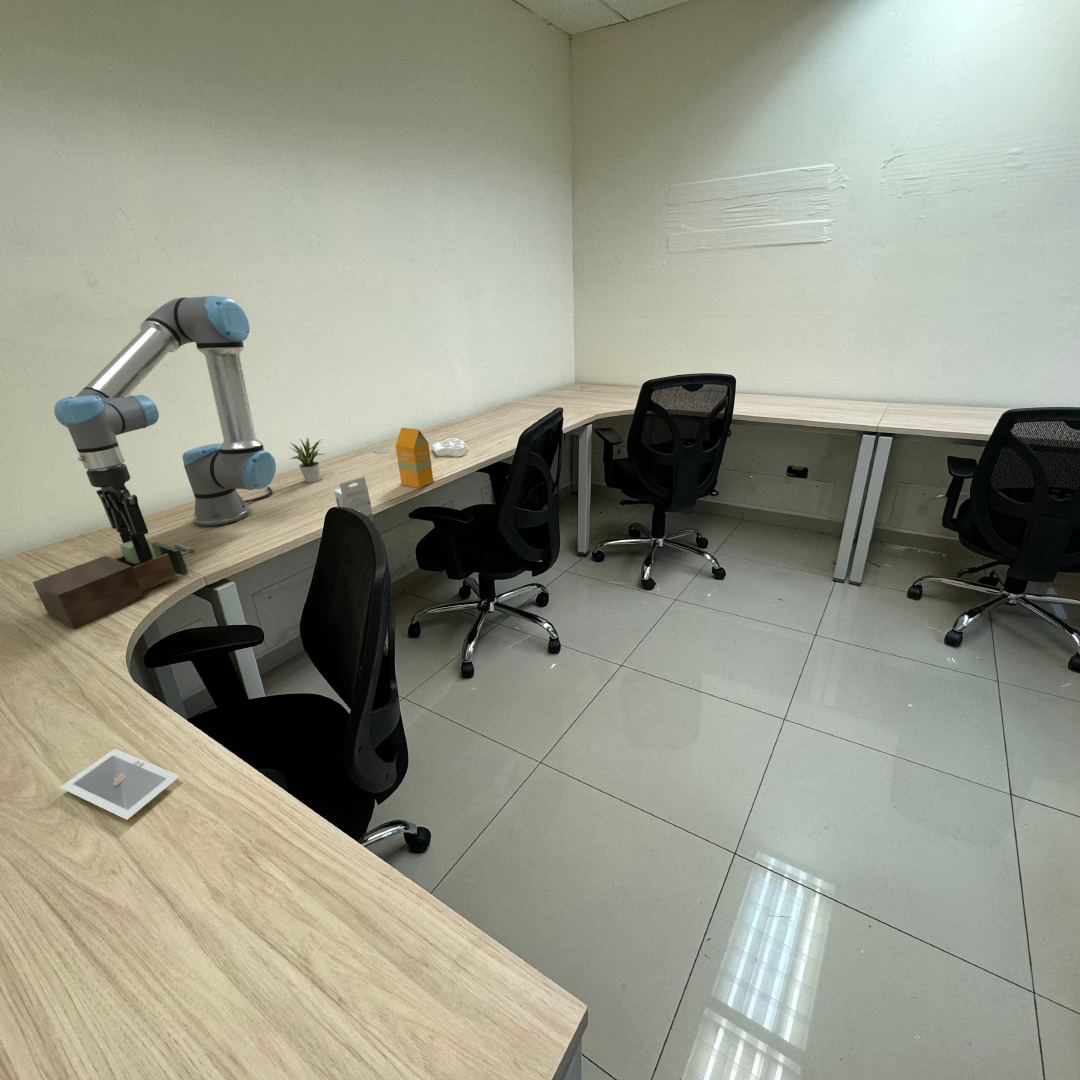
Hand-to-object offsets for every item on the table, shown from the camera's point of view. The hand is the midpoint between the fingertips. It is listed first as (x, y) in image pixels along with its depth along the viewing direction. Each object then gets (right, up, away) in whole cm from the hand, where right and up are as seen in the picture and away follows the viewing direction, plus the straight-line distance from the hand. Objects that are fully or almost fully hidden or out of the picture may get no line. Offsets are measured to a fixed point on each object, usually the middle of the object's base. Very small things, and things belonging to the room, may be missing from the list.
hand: (140, 557), depth 135 cm
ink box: (+43, +9, +33) cm, 54 cm away
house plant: (+13, +27, +72) cm, 78 cm away
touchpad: (+37, -32, -54) cm, 73 cm away
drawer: (+1, -5, +4) cm, 7 cm away
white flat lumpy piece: (+60, +42, +102) cm, 125 cm away
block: (0, 0, 0) cm, 0 cm away
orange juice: (+53, +25, +66) cm, 88 cm away
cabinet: (-6, -11, -6) cm, 14 cm away
